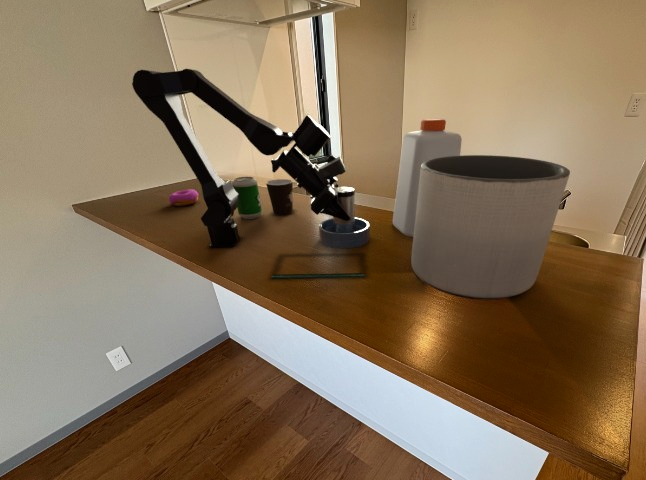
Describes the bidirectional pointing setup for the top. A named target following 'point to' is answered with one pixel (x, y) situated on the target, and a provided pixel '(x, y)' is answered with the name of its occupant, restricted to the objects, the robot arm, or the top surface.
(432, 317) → the top surface
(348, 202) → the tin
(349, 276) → the mat
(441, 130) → the plastic bottle
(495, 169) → the planter
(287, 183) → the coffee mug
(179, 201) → the donut
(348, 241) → the blue bowl
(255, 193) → the soda can
